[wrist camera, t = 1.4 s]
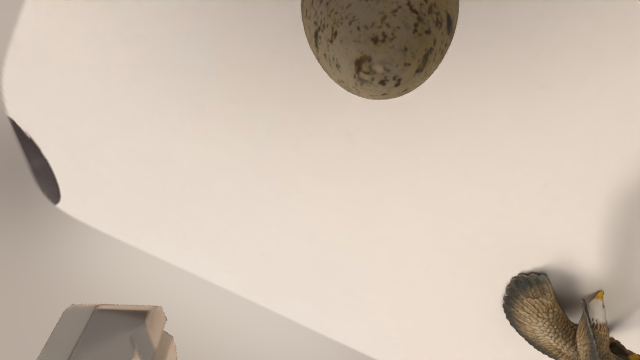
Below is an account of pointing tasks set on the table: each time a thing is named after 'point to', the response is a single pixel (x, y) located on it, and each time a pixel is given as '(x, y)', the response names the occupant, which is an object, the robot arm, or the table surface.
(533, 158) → the table surface
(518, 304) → the eagle figurine
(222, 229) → the table surface
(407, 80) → the decorative egg
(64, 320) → the robot arm
